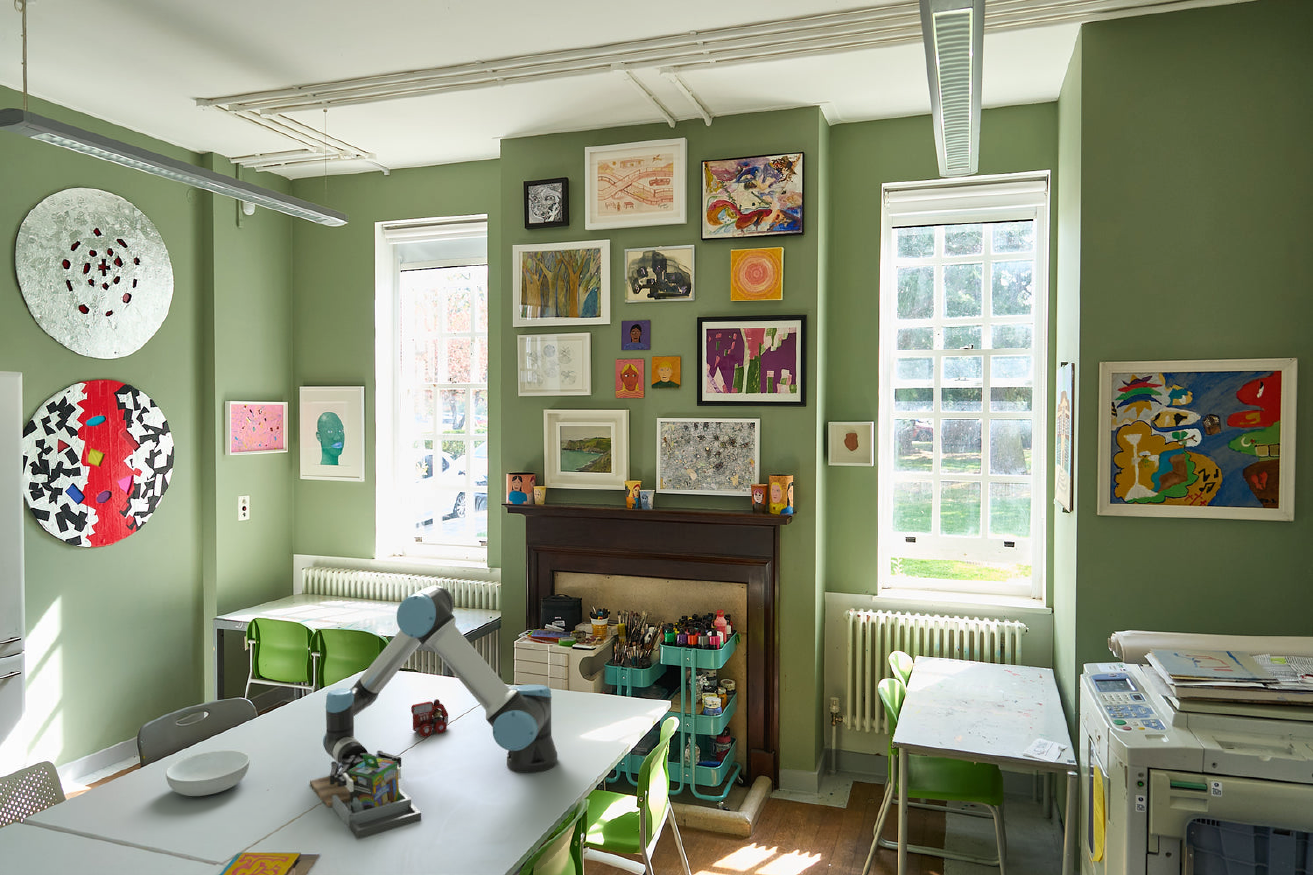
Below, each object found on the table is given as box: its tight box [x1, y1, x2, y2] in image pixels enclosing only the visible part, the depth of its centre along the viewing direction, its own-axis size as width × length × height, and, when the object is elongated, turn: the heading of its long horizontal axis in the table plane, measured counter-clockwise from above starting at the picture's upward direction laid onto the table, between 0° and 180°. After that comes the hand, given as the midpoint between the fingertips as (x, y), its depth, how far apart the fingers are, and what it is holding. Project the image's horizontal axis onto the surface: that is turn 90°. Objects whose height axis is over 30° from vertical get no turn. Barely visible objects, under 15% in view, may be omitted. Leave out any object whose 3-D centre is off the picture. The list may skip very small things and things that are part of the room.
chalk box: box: [348, 754, 400, 813], centre depth 220 cm, size 9×9×15 cm
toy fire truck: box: [410, 698, 449, 738], centre depth 276 cm, size 7×12×10 cm, turn 128°
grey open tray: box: [331, 787, 422, 840], centre depth 218 cm, size 22×16×3 cm
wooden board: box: [309, 775, 350, 808], centre depth 234 cm, size 18×18×1 cm
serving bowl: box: [165, 750, 251, 797], centre depth 233 cm, size 21×21×7 cm
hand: (376, 780), depth 218 cm, fingers closed on chalk box, 12 cm apart
